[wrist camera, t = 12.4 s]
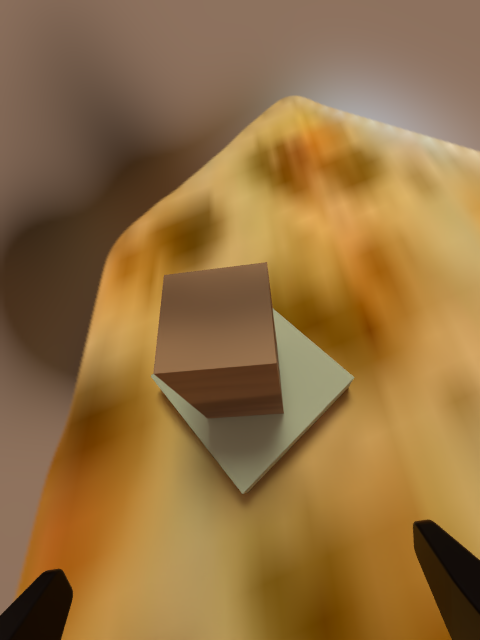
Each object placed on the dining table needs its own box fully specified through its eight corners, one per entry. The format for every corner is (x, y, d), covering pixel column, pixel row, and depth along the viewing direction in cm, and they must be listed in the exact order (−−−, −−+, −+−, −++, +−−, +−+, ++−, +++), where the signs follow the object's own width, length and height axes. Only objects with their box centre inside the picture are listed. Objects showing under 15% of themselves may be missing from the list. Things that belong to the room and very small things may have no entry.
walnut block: (283, 413, 20) (276, 363, 12) (207, 418, 20) (153, 373, 13) (276, 342, 22) (266, 262, 15) (208, 348, 23) (164, 275, 15)
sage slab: (248, 492, 21) (242, 493, 18) (165, 387, 25) (150, 376, 23) (347, 389, 23) (354, 377, 20) (254, 308, 27) (250, 290, 25)
